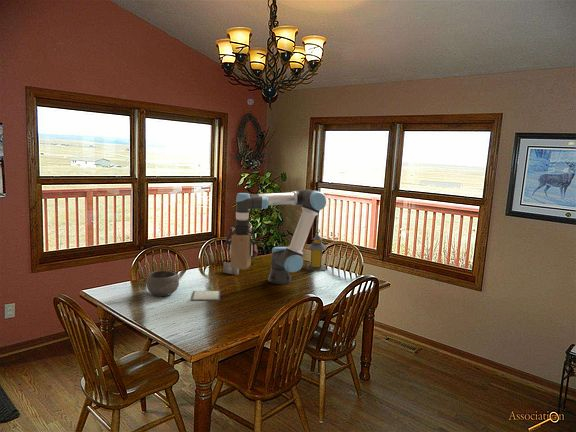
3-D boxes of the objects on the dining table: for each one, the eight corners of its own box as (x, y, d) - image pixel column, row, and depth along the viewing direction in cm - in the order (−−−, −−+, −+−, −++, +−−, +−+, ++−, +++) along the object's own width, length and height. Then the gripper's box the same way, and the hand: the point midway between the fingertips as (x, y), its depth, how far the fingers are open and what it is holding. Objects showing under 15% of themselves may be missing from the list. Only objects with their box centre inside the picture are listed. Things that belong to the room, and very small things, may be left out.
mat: (220, 291, 255) (220, 290, 255) (220, 300, 239) (220, 299, 239) (193, 291, 253) (193, 290, 252) (191, 300, 237) (191, 299, 237)
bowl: (184, 292, 251) (184, 271, 249) (166, 301, 234) (166, 279, 232) (159, 288, 256) (159, 268, 255) (139, 297, 239) (139, 275, 238)
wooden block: (246, 269, 247) (247, 236, 244) (230, 268, 249) (230, 235, 246) (251, 265, 256) (252, 233, 254) (235, 264, 258) (236, 232, 256)
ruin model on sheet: (239, 274, 295) (239, 260, 293) (237, 275, 292) (237, 261, 290) (225, 272, 299) (225, 258, 298) (223, 273, 296) (223, 259, 295)
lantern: (307, 265, 327) (309, 227, 322) (325, 266, 325) (327, 228, 320) (305, 269, 313) (307, 230, 308) (324, 271, 311) (327, 231, 307)
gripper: (261, 218, 254) (260, 253, 257) (221, 217, 250) (220, 253, 253) (263, 220, 247) (261, 256, 250) (221, 219, 243) (220, 256, 246)
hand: (241, 255), depth 252 cm, fingers closed on wooden block, 12 cm apart
